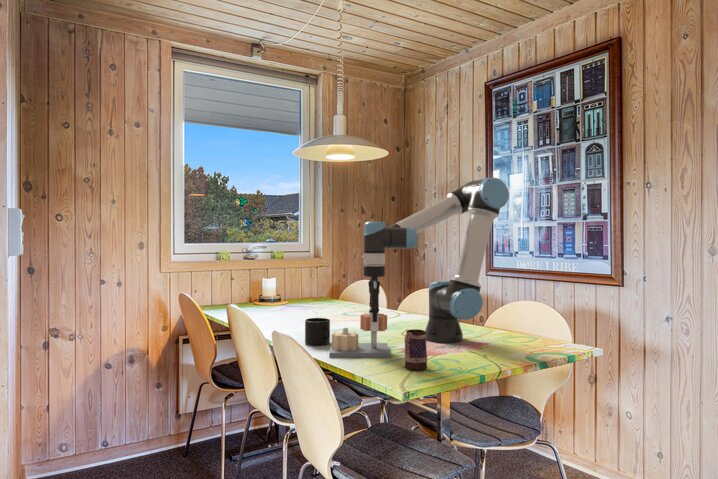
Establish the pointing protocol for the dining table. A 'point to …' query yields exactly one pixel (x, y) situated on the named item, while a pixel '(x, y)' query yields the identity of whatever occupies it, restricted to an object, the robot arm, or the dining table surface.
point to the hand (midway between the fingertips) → (373, 328)
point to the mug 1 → (317, 331)
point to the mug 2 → (415, 350)
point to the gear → (366, 322)
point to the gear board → (356, 346)
